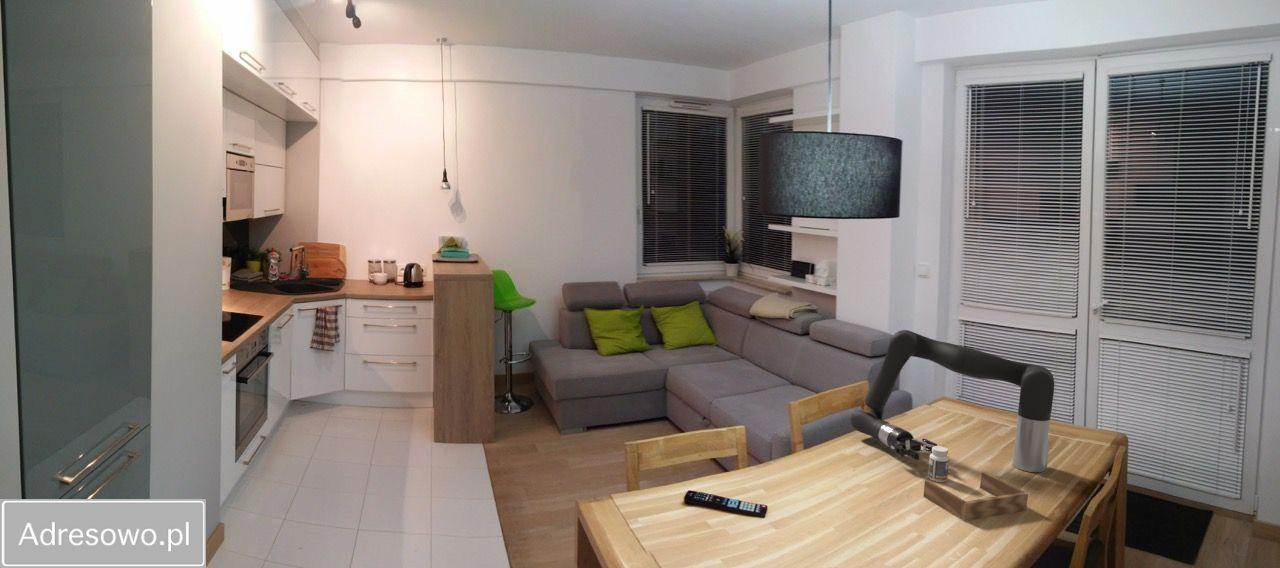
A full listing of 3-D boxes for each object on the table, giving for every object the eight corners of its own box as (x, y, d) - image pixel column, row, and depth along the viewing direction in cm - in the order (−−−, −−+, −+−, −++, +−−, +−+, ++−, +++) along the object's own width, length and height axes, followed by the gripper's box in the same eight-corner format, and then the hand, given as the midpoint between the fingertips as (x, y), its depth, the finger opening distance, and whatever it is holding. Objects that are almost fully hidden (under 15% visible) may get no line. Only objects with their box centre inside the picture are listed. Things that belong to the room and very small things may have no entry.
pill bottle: (949, 478, 227) (952, 448, 225) (943, 484, 222) (946, 453, 221) (931, 473, 230) (934, 443, 229) (924, 479, 226) (927, 448, 224)
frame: (983, 487, 221) (984, 471, 220) (1026, 510, 206) (1028, 493, 205) (923, 496, 213) (924, 480, 213) (963, 521, 199) (965, 503, 198)
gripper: (878, 429, 241) (912, 446, 226) (913, 425, 246) (948, 441, 231) (877, 450, 243) (910, 469, 227) (912, 446, 247) (946, 464, 232)
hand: (929, 455), depth 229 cm, fingers open, 8 cm apart
